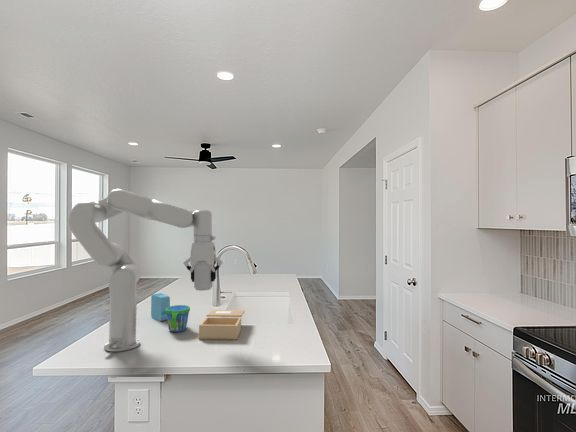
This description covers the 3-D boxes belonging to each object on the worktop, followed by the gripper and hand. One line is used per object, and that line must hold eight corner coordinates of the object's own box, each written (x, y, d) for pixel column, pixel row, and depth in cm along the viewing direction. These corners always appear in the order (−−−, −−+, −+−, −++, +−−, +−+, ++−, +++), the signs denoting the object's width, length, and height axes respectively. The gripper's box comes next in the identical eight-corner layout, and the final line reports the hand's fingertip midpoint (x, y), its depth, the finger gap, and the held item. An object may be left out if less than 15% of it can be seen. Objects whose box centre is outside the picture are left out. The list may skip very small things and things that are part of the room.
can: (205, 286, 143) (205, 259, 143) (216, 288, 138) (215, 260, 138) (190, 289, 137) (190, 260, 138) (201, 291, 133) (200, 262, 133)
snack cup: (183, 336, 141) (184, 312, 142) (159, 335, 141) (159, 312, 142) (193, 325, 157) (194, 303, 157) (172, 324, 157) (172, 303, 157)
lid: (244, 310, 162) (244, 311, 162) (212, 309, 162) (212, 311, 162) (241, 315, 150) (241, 316, 150) (206, 314, 150) (206, 316, 150)
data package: (169, 320, 164) (170, 296, 165) (160, 322, 161) (161, 297, 162) (159, 315, 173) (159, 292, 173) (150, 317, 170) (151, 293, 170)
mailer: (236, 340, 137) (237, 325, 137) (198, 339, 137) (199, 325, 137) (241, 330, 149) (241, 317, 149) (206, 330, 149) (206, 317, 149)
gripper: (225, 238, 142) (225, 279, 142) (185, 239, 142) (185, 280, 142) (221, 239, 134) (221, 282, 134) (179, 240, 135) (179, 283, 134)
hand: (203, 280), depth 138 cm, fingers closed on can, 7 cm apart
